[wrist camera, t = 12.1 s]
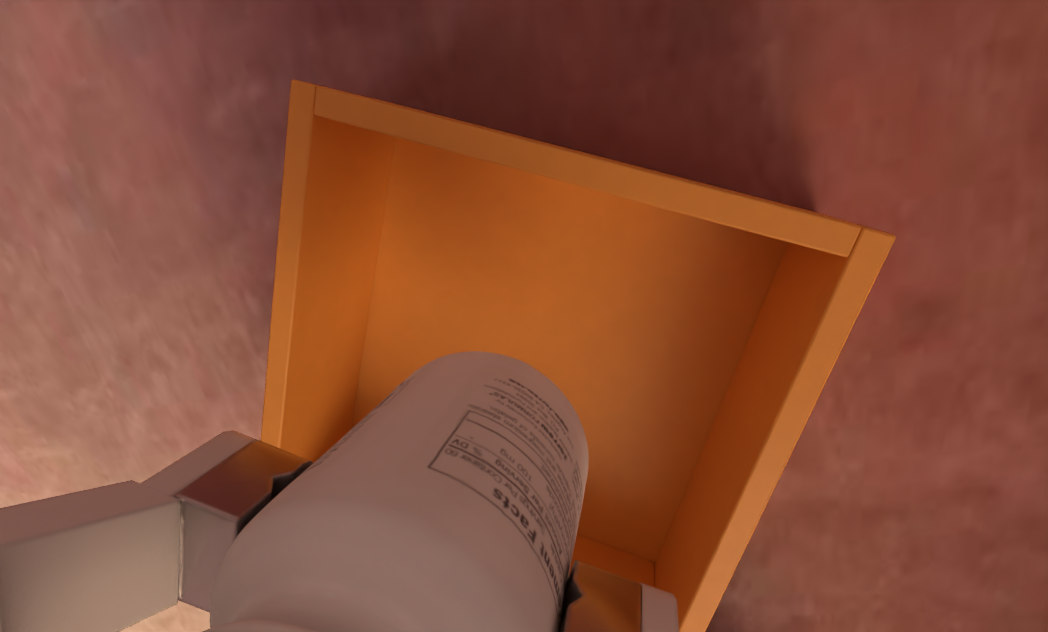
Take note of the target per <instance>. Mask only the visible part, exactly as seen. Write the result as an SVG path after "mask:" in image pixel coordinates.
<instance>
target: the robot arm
mask: <svg viewBox="0 0 1048 632" xmlns="http://www.w3.org/2000/svg"><path fill="white" fill-rule="evenodd" d="M312 464H313V462H312V461H310V460H307V459H305V458H302V457H300V456H297V455H295V454H293V453H290V452H288V451H285V450H283V449H280V448H278V447H275V446H273V445H270V444H268V443H265V442H263V441H258V440H256V439H253V438H251V437H249V436H246V435H244V434H241V433H239V432H236V431H226V432H223V433H221V434H219V435H218V436H216V437H214V438H213V439H211V440H210V441H208V442H206V443H205V444H203V445H202V446H200V447H198V448H197V449H195V450H194V451H192V452H190V453H189V454H187V455H186V456H184V457H182V458H181V459H179V460H178V461H176V462H174V463H173V464H171V465H170V466H168V467H166V468H165V469H163V470H162V471H160V472H158V473H157V474H155V475H153V476H152V477H150V478H149V479H147V480H145V481H144V482H142V483H141V484H140V483H137V482H135V481H132V480H131V481H126V482H121V483H117V484H112V485H107V486H103V487H98V488H93V489H89V490H84V491H79V492H75V493H70V494H65V495H60V496H56V497H51V498H46V499H42V500H37V501H32V502H28V503H23V504H18V505H14V506H9V507H4V508H0V632H119V631H121V630H123V629H125V628H127V627H129V626H132V625H134V624H136V623H138V622H140V621H142V620H144V619H146V618H148V617H151V616H153V615H155V614H157V613H159V612H161V611H163V610H165V609H167V608H170V607H172V606H174V605H176V604H177V603H178V600H179V601H182V602H184V603H187V604H190V605H192V606H195V607H197V608H200V609H202V610H205V611H207V612H210V605H211V598H212V592H213V587H214V583H215V579H216V575H217V573H218V570H219V567H220V565H221V562H222V560H223V558H224V556H225V555H226V553H227V551H228V549H229V547H230V546H231V545H232V543H233V542H234V540H235V539H236V537H237V536H238V535H239V533H240V532H241V531H242V530H243V529H244V527H245V526H246V525H247V524H248V523H249V522H250V521H251V520H252V519H253V518H254V517H255V516H256V515H257V514H258V513H259V512H260V511H261V510H262V509H263V508H264V507H265V506H266V505H267V504H268V503H269V502H271V501H272V500H273V499H274V498H275V497H276V496H277V495H278V494H279V493H280V492H281V491H282V490H283V489H285V488H286V487H287V486H288V485H289V484H290V483H291V482H293V481H294V480H295V479H296V478H297V477H298V476H299V475H301V474H302V473H303V472H304V471H305V470H306V469H307V468H308V467H310V466H311V465H312ZM558 632H679V625H678V611H677V600H676V598H675V596H674V594H672V593H669V592H666V591H663V590H660V589H658V588H655V587H652V586H649V585H646V584H643V583H638V582H636V581H633V580H630V579H628V578H625V577H622V576H619V575H617V574H614V573H611V572H608V571H606V570H603V569H600V568H597V567H595V566H592V565H589V564H586V563H584V562H581V561H578V560H575V561H574V564H573V566H572V568H571V571H570V574H569V577H568V580H567V585H566V590H565V595H564V600H563V607H562V614H561V620H560V625H559V631H558Z"/></svg>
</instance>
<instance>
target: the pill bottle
mask: <svg viewBox="0 0 1048 632" xmlns="http://www.w3.org/2000/svg"><path fill="white" fill-rule="evenodd" d="M588 460H589V456H588V446H587V440H586V436H585V432H584V429H583V426H582V424H581V422H580V419H579V417H578V415H577V413H576V411H575V409H574V408H573V406H572V404H571V403H570V401H569V400H568V399H567V397H566V396H565V395H564V394H563V392H562V391H561V390H560V389H559V388H558V387H557V386H556V385H555V384H554V383H553V382H552V381H551V380H550V379H548V378H547V377H546V376H545V375H543V374H542V373H541V372H539V371H538V370H536V369H535V368H533V367H532V366H530V365H529V364H527V363H525V362H523V361H521V360H518V359H515V358H512V357H509V356H505V355H502V354H496V353H490V352H482V351H470V352H460V353H453V354H448V355H445V356H442V357H439V358H437V359H435V360H433V361H431V362H429V363H427V364H426V365H424V366H423V367H421V368H419V369H418V370H416V371H415V372H414V373H413V374H411V375H410V376H409V377H408V378H407V379H406V380H405V381H403V382H402V383H401V384H399V385H398V386H397V387H396V388H395V389H394V390H393V391H392V392H391V393H390V394H389V395H388V396H387V397H386V398H385V399H384V400H383V401H382V402H381V403H380V404H378V405H377V406H376V407H375V408H374V409H373V410H372V411H371V412H370V413H369V414H368V415H367V416H365V417H364V418H363V419H362V420H361V421H360V422H359V423H358V424H357V425H355V426H354V427H353V428H352V429H351V430H350V431H349V432H348V433H347V434H346V435H344V436H343V437H342V438H341V439H340V440H339V441H338V442H337V443H336V444H335V445H333V446H332V447H331V448H330V449H329V450H328V451H327V452H326V453H324V454H323V455H322V456H321V457H320V458H319V459H318V460H316V461H315V462H314V463H313V464H312V465H311V466H310V467H308V468H307V469H306V470H305V471H304V472H303V473H302V474H301V475H299V476H298V477H297V478H296V479H295V480H294V481H293V482H291V483H290V484H289V485H288V486H287V487H286V488H285V489H283V490H282V491H281V492H280V493H279V494H278V495H277V496H276V497H275V498H274V499H273V500H272V501H271V502H269V503H268V504H267V505H266V506H265V507H264V508H263V509H262V510H261V511H260V512H259V513H258V514H257V515H256V516H255V517H254V518H253V519H252V520H251V521H250V522H249V523H248V524H247V525H246V526H245V527H244V529H243V530H242V531H241V532H240V533H239V535H238V536H237V537H236V539H235V540H234V542H233V543H232V545H231V546H230V547H229V549H228V551H227V553H226V555H225V556H224V558H223V560H222V562H221V565H220V567H219V570H218V573H217V575H216V579H215V583H214V587H213V592H212V598H211V605H210V627H211V628H210V629H208V630H205V631H203V632H558V631H559V625H560V620H561V614H562V607H563V600H564V595H565V590H566V585H567V580H568V577H569V572H570V566H571V561H572V555H573V550H574V545H575V540H576V535H577V530H578V525H579V519H580V514H581V509H582V504H583V498H584V492H585V485H586V480H587V474H588Z"/></svg>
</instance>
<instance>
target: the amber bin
mask: <svg viewBox="0 0 1048 632" xmlns="http://www.w3.org/2000/svg"><path fill="white" fill-rule="evenodd" d="M894 241H895V235H893V234H890V233H887V232H883V231H880V230H876V229H873V228H869V227H866V226H863V225H859V224H856V223H852V222H849V221H845V220H842V219H838V218H835V217H831V216H828V215H824V214H821V213H817V212H814V211H810V210H806V209H802V208H798V207H794V206H790V205H786V204H782V203H779V202H775V201H771V200H767V199H763V198H759V197H755V196H751V195H748V194H744V193H740V192H736V191H732V190H728V189H724V188H720V187H717V186H713V185H709V184H705V183H701V182H697V181H693V180H689V179H686V178H682V177H678V176H674V175H670V174H666V173H662V172H658V171H655V170H651V169H647V168H643V167H639V166H635V165H631V164H627V163H624V162H620V161H616V160H612V159H608V158H604V157H600V156H596V155H593V154H589V153H585V152H581V151H577V150H573V149H569V148H565V147H562V146H558V145H554V144H550V143H546V142H542V141H538V140H534V139H531V138H527V137H523V136H519V135H515V134H511V133H507V132H503V131H500V130H496V129H492V128H488V127H484V126H480V125H476V124H472V123H468V122H465V121H461V120H457V119H453V118H449V117H445V116H441V115H437V114H434V113H430V112H426V111H422V110H418V109H414V108H410V107H406V106H403V105H399V104H395V103H391V102H387V101H382V100H378V99H374V98H370V97H366V96H361V95H357V94H353V93H349V92H345V91H340V90H336V89H332V88H328V87H324V86H320V85H315V84H311V83H307V82H303V81H299V80H292V81H291V89H290V101H289V113H288V124H287V136H286V148H285V160H284V172H283V183H282V195H281V207H280V219H279V230H278V242H277V254H276V266H275V278H274V289H273V301H272V313H271V325H270V337H269V348H268V360H267V372H266V384H265V396H264V407H263V419H262V431H261V441H263V442H265V443H268V444H270V445H273V446H275V447H278V448H280V449H283V450H285V451H288V452H290V453H293V454H295V455H297V456H300V457H302V458H305V459H307V460H310V461H312V462H313V463H314V462H315V461H316V460H318V459H319V458H320V457H321V456H322V455H323V454H324V453H326V452H327V451H328V450H329V449H330V448H331V447H332V446H333V445H335V444H336V443H337V442H338V441H339V440H340V439H341V438H342V437H343V436H344V435H346V434H347V433H348V432H349V431H350V430H351V429H352V428H353V427H354V426H355V425H357V424H358V423H359V422H360V421H361V420H362V419H363V418H364V417H365V416H367V415H368V414H369V413H370V412H371V411H372V410H373V409H374V408H375V407H376V406H377V405H378V404H380V403H381V402H382V401H383V400H384V399H385V398H386V397H387V396H388V395H389V394H390V393H391V392H392V391H393V390H394V389H395V388H396V387H397V386H398V385H399V384H401V383H402V382H403V381H405V380H406V379H407V378H408V377H409V376H410V375H411V374H413V373H414V372H415V371H416V370H418V369H419V368H421V367H423V366H424V365H426V364H427V363H429V362H431V361H433V360H435V359H437V358H439V357H442V356H445V355H448V354H453V353H460V352H470V351H482V352H490V353H496V354H502V355H505V356H509V357H512V358H515V359H518V360H521V361H523V362H525V363H527V364H529V365H530V366H532V367H533V368H535V369H536V370H538V371H539V372H541V373H542V374H543V375H545V376H546V377H547V378H548V379H550V380H551V381H552V382H553V383H554V384H555V385H556V386H557V387H558V388H559V389H560V390H561V391H562V392H563V394H564V395H565V396H566V397H567V399H568V400H569V401H570V403H571V404H572V406H573V408H574V409H575V411H576V413H577V415H578V417H579V419H580V422H581V424H582V426H583V429H584V432H585V436H586V440H587V446H588V456H589V460H588V474H587V480H586V485H585V492H584V498H583V504H582V509H581V514H580V519H579V525H578V530H577V535H576V540H575V545H574V550H573V555H572V561H571V566H570V571H571V568H572V566H573V564H574V561H575V560H578V561H581V562H584V563H586V564H589V565H592V566H595V567H597V568H600V569H603V570H606V571H608V572H611V573H614V574H617V575H619V576H622V577H625V578H628V579H630V580H633V581H636V582H638V583H643V584H646V585H649V586H652V587H655V588H658V589H660V590H663V591H666V592H669V593H672V594H674V596H675V598H676V600H677V611H678V625H679V632H705V631H706V629H707V627H708V625H709V623H710V621H711V619H712V617H713V615H714V613H715V611H716V609H717V607H718V604H719V602H720V600H721V598H722V596H723V594H724V592H725V590H726V588H727V586H728V584H729V582H730V580H731V578H732V576H733V573H734V571H735V569H736V567H737V565H738V563H739V561H740V559H741V557H742V555H743V553H744V551H745V549H746V547H747V545H748V542H749V540H750V538H751V536H752V534H753V532H754V530H755V528H756V526H757V524H758V522H759V520H760V518H761V516H762V513H763V511H764V509H765V507H766V505H767V503H768V501H769V499H770V497H771V495H772V493H773V491H774V489H775V487H776V485H777V482H778V480H779V478H780V476H781V474H782V472H783V470H784V468H785V466H786V464H787V462H788V460H789V458H790V456H791V454H792V451H793V449H794V447H795V445H796V443H797V441H798V439H799V437H800V435H801V433H802V431H803V429H804V427H805V425H806V423H807V420H808V418H809V416H810V414H811V412H812V410H813V408H814V406H815V404H816V402H817V400H818V398H819V396H820V394H821V391H822V389H823V387H824V385H825V383H826V381H827V379H828V377H829V375H830V373H831V371H832V369H833V367H834V365H835V363H836V360H837V358H838V356H839V354H840V352H841V350H842V348H843V346H844V344H845V342H846V340H847V338H848V336H849V334H850V332H851V329H852V327H853V325H854V323H855V321H856V319H857V317H858V315H859V313H860V311H861V309H862V307H863V305H864V303H865V300H866V298H867V296H868V294H869V292H870V290H871V288H872V286H873V284H874V282H875V280H876V278H877V276H878V274H879V272H880V269H881V267H882V265H883V263H884V261H885V259H886V257H887V255H888V253H889V251H890V249H891V247H892V245H893V243H894ZM569 574H570V572H569Z"/></svg>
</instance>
